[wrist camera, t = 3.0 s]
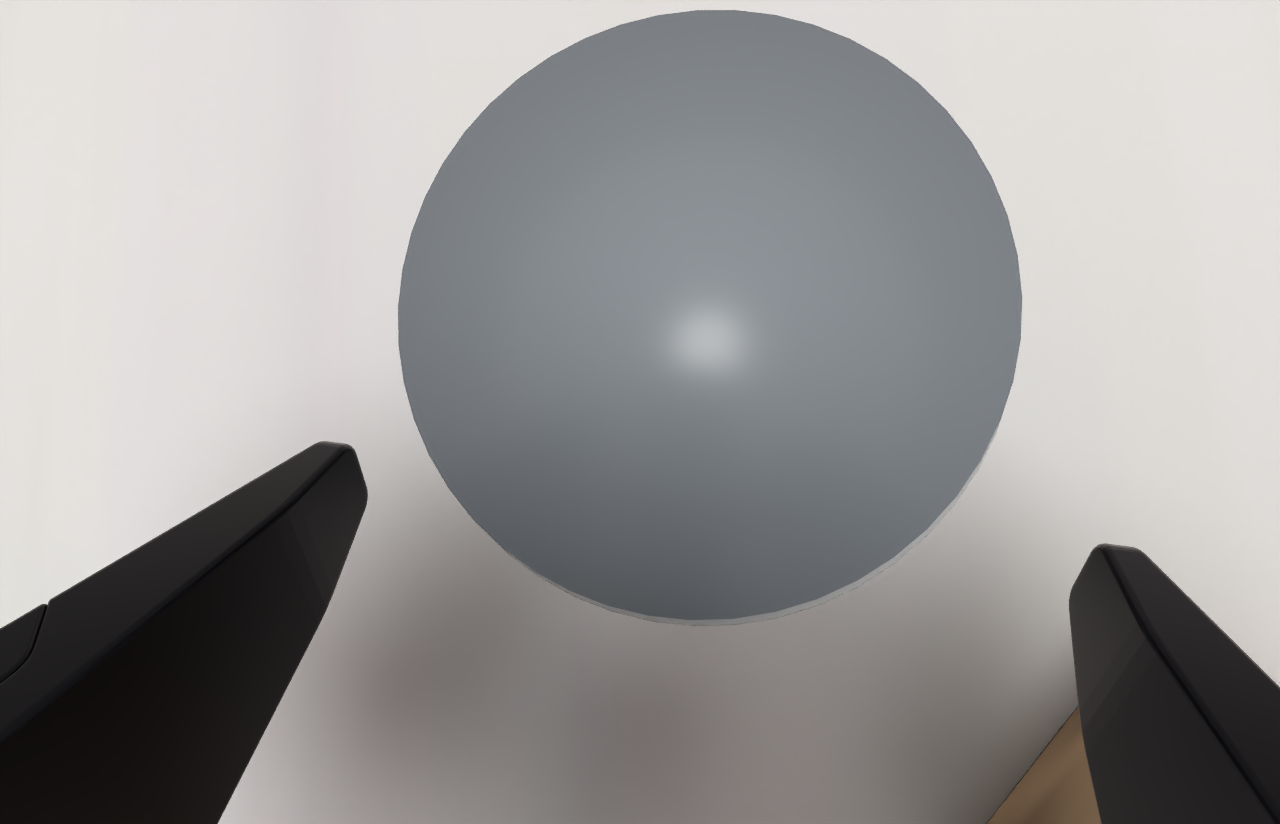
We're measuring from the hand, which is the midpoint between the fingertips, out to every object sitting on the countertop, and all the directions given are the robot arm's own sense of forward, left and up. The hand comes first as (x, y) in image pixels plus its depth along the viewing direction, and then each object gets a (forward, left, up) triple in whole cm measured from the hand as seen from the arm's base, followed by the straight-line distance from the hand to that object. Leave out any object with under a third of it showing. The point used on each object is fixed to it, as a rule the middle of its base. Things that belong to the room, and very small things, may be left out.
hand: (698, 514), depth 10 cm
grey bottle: (+1, +1, -9) cm, 9 cm away
